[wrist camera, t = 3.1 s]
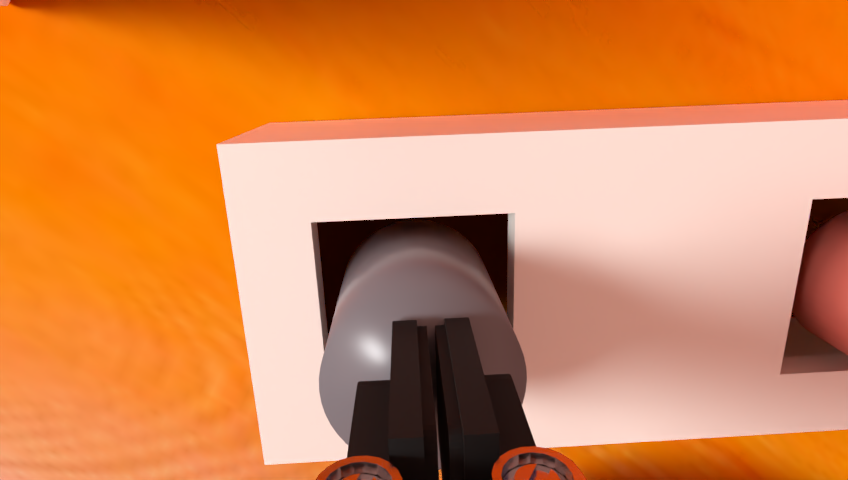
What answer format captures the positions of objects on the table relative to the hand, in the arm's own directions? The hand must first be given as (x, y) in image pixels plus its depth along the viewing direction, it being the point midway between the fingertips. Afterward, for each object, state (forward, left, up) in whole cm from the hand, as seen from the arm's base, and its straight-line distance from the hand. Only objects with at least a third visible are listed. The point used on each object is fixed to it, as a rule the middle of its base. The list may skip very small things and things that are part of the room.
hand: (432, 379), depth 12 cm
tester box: (0, -7, -10) cm, 12 cm away
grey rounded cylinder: (0, 0, -6) cm, 6 cm away
